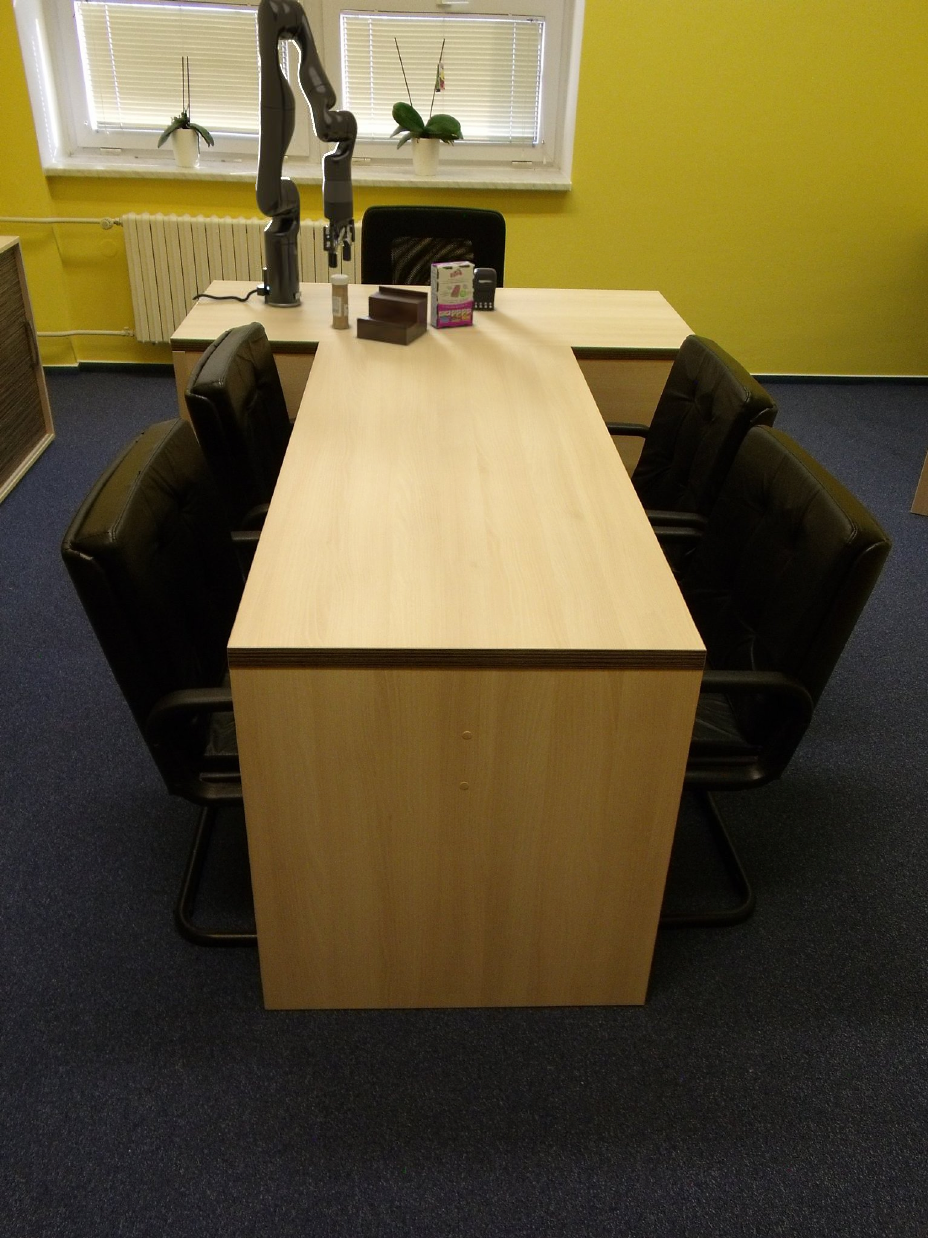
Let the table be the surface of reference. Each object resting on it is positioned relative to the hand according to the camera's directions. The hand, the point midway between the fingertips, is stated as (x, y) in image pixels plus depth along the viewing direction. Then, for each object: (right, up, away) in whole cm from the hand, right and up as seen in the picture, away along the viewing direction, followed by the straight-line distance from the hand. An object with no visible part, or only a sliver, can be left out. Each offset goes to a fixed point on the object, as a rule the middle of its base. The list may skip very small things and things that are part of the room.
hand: (340, 264), depth 265 cm
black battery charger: (+38, -3, +29) cm, 48 cm away
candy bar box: (+29, -12, +15) cm, 35 cm away
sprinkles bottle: (-1, -14, +9) cm, 17 cm away
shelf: (+13, -17, +5) cm, 22 cm away
